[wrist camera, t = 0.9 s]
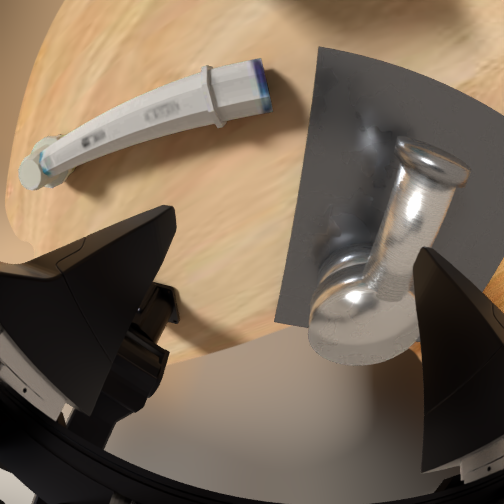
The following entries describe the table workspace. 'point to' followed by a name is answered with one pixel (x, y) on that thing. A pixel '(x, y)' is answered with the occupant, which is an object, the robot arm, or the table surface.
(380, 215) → the cutting board
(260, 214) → the table surface
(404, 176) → the dryer elbow
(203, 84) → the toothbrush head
